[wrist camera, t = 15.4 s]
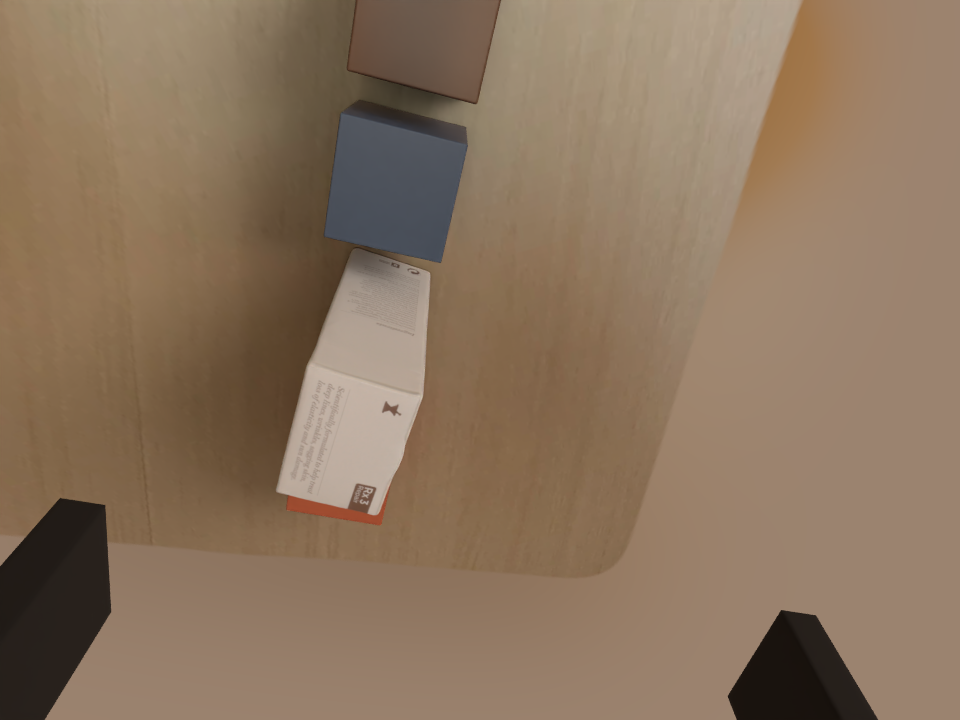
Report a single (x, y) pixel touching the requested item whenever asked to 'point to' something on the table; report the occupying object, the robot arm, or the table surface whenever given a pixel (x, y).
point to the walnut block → (424, 43)
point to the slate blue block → (394, 180)
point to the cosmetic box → (360, 387)
